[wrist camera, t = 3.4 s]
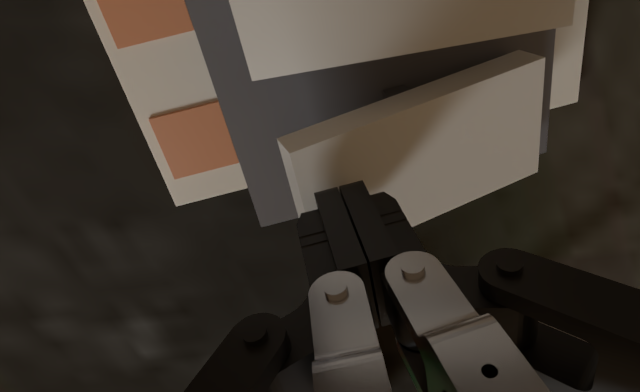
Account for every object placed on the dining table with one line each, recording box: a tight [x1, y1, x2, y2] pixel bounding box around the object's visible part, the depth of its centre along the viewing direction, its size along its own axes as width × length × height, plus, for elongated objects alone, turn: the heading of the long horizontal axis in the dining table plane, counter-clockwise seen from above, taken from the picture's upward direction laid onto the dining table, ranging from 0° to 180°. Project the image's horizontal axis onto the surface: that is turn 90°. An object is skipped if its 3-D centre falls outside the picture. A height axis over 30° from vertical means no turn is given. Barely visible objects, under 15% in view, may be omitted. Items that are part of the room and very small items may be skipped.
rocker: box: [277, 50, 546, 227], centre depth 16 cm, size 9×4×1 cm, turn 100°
